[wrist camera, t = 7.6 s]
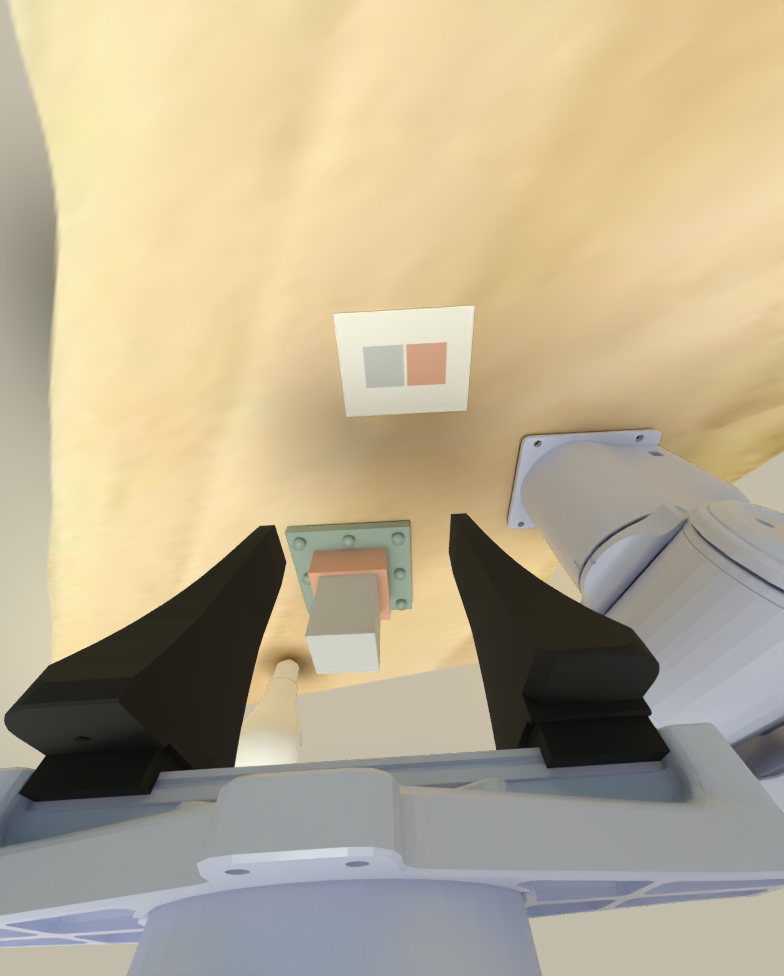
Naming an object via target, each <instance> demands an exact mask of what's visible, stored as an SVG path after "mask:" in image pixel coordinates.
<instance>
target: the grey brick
mask: <svg viewBox="0 0 784 976" xmlns="http://www.w3.org/2000/svg"><path fill="white" fill-rule="evenodd" d="M305 638H306V641H307V644H308V647H309V650H310V654H311V657H312V660H313V663H314V666H315V670H316V673H317V674H334V673H356V672H378V671H379V662H380V603H379V593H378V583H377V573H374V574H353V575H331V576H319V580H318V584H317V588H316V592H315V597H314V601H313V605H312V609H311V613H310V618H309V622H308V626H307V630H306V634H305Z"/></svg>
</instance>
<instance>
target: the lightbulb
mask: <svg viewBox="0 0 784 976" xmlns="http://www.w3.org/2000/svg"><path fill="white" fill-rule="evenodd" d="M298 674H299V666H298V664H297V663H295V662H294V661H293V660H292V659H287V660H285V661H281V662H280V663H278V664H277V666H276V669H275V671H274V674H273V678H272V680H271V681H270V682H269V684H268V686H267V688H266V691H265V694H264V696H263V698H262V700H261V701H260V703H259V704H258V706H257V707H256V709H255V710H254V711H253V712H252V713H251V714H250V715H249V716H248V718H247V719H246V720H245V721H244V723H243V724H242V727H241V732H240V738H239V744H238V749H237V755H236V761H235V767H247V766H262V765H277V764H293V763H296V762H297V759H298V756H299V754H300V750H301V745H302V735H301V729H300V724H299V720H298V716H297V711H296V696H297V690H298V687H297V680H298Z"/></svg>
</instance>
